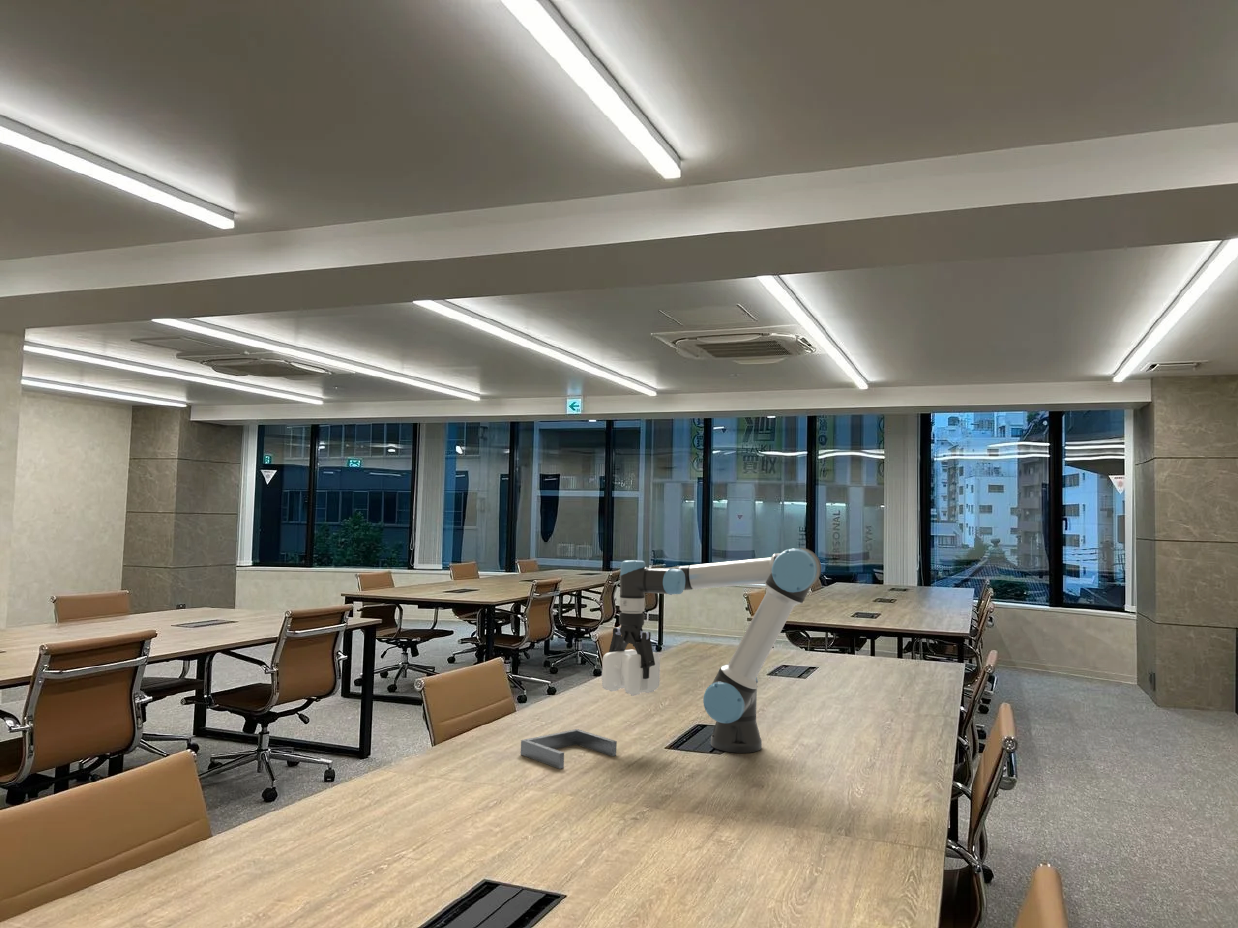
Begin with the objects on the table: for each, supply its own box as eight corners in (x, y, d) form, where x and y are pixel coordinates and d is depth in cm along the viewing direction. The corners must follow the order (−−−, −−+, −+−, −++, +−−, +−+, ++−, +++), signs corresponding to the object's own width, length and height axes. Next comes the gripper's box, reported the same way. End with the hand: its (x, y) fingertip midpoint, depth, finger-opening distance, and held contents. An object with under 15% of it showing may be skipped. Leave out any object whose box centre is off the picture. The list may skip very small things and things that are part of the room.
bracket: (616, 755, 238) (616, 740, 238) (559, 768, 223) (559, 753, 224) (576, 742, 250) (577, 728, 250) (520, 754, 236) (521, 739, 236)
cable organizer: (626, 697, 241) (627, 656, 242) (600, 692, 249) (601, 652, 249) (660, 691, 252) (660, 651, 253) (634, 685, 259) (635, 647, 260)
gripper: (597, 609, 258) (595, 682, 256) (650, 616, 241) (648, 694, 240) (614, 607, 263) (613, 679, 261) (668, 614, 246) (666, 691, 245)
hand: (630, 686), depth 251 cm, fingers closed on cable organizer, 10 cm apart
